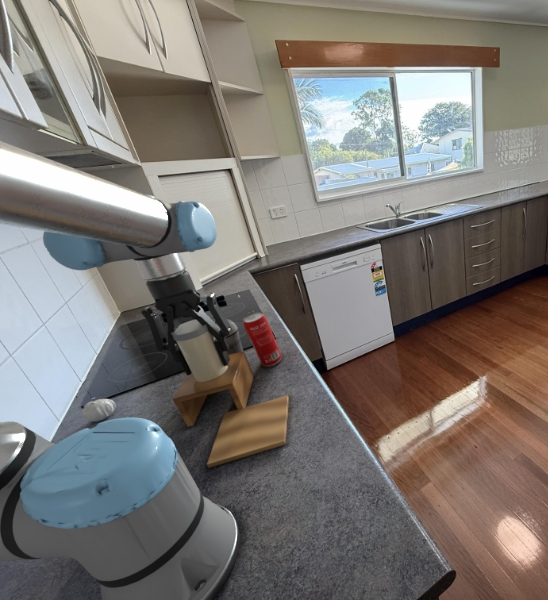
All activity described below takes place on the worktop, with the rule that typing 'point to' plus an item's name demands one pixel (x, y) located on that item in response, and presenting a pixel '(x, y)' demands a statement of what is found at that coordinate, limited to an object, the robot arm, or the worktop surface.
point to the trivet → (250, 431)
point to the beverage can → (262, 339)
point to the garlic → (98, 409)
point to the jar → (199, 351)
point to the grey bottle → (233, 339)
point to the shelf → (215, 388)
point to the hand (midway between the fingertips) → (209, 367)
